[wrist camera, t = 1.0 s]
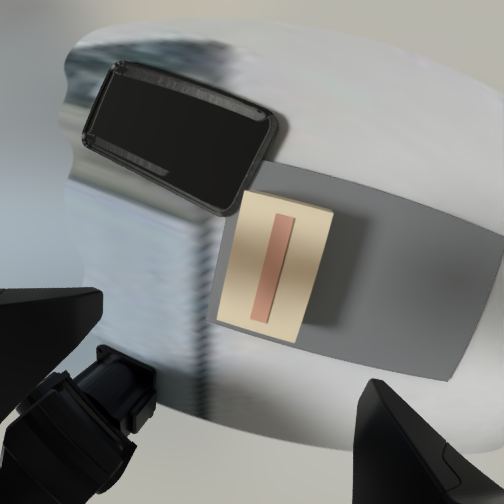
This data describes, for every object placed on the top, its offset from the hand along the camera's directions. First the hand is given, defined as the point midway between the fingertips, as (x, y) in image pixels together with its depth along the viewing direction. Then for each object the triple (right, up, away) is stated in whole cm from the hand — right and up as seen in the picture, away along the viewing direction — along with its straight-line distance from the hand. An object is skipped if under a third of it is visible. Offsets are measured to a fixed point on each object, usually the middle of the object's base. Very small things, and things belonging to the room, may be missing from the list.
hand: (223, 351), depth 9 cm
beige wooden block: (+3, +3, +11) cm, 12 cm away
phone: (-5, +12, +12) cm, 18 cm away
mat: (+8, +1, +11) cm, 14 cm away
